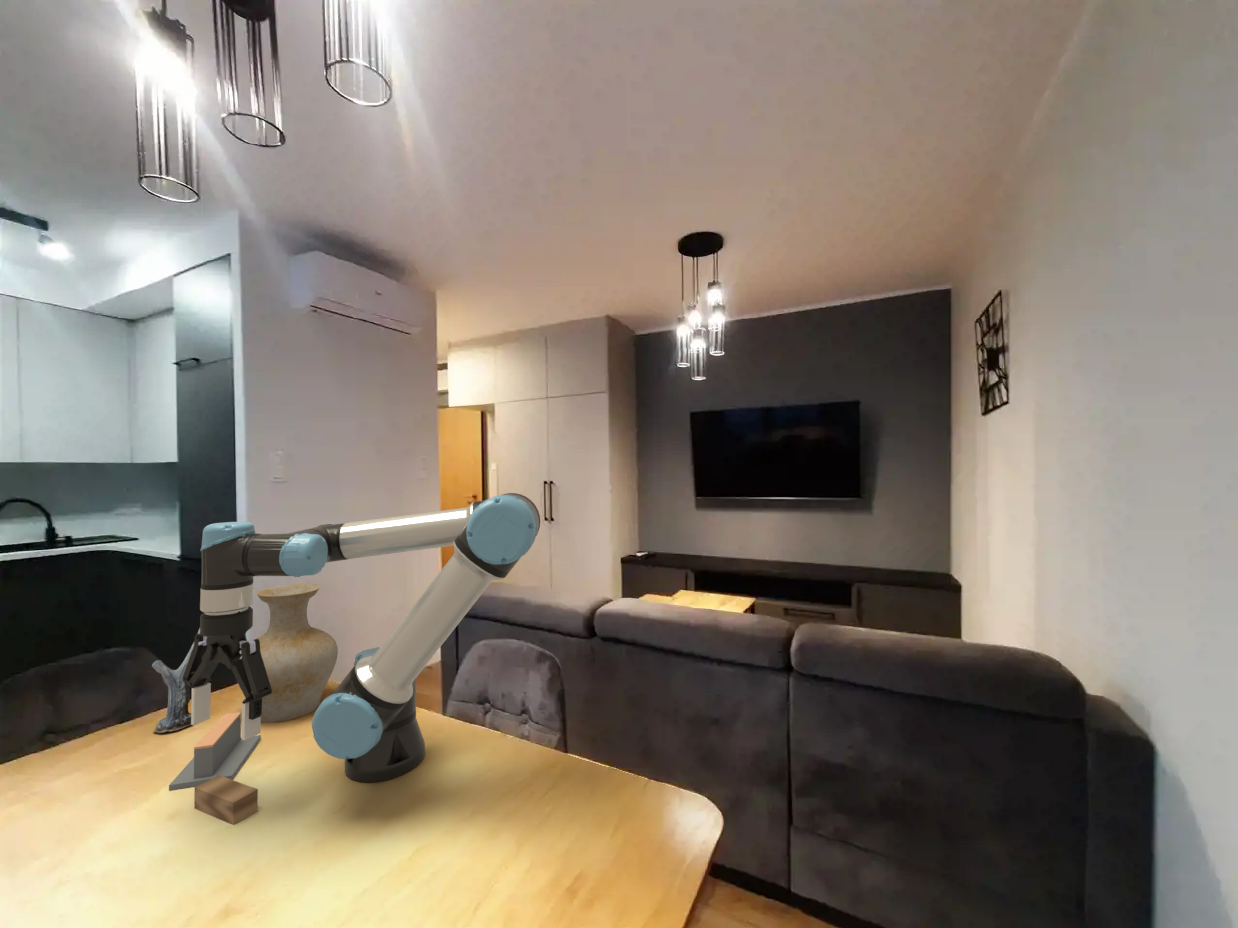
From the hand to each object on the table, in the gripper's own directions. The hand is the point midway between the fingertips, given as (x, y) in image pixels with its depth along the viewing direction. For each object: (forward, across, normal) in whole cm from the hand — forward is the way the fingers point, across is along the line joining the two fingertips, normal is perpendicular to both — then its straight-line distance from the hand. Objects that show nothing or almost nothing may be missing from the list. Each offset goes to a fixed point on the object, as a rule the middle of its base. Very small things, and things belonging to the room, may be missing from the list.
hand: (225, 728), depth 92 cm
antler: (+15, +42, -17) cm, 48 cm away
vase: (+14, +26, -31) cm, 43 cm away
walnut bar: (+14, 0, 0) cm, 15 cm away
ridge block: (+14, +16, -9) cm, 24 cm away
